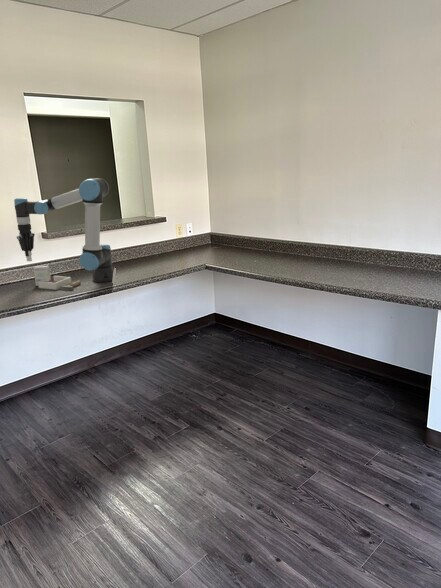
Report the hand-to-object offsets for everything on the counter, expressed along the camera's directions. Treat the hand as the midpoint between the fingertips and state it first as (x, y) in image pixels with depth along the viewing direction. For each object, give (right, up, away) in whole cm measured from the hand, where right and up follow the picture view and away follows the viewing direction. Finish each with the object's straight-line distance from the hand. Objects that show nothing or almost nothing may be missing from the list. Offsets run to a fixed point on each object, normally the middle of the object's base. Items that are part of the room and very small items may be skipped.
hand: (29, 261), depth 280 cm
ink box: (+9, -15, +2) cm, 17 cm away
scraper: (+29, -17, -6) cm, 34 cm away
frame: (+17, -16, -2) cm, 23 cm away
